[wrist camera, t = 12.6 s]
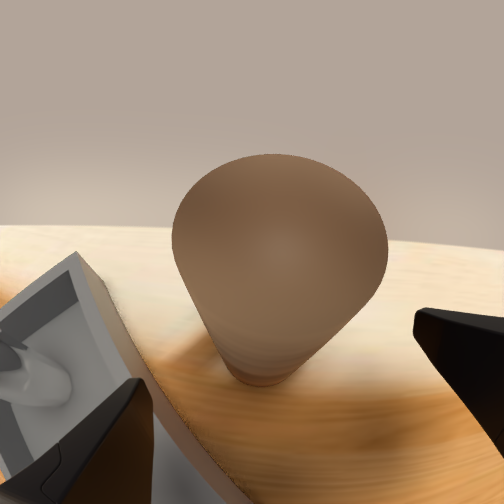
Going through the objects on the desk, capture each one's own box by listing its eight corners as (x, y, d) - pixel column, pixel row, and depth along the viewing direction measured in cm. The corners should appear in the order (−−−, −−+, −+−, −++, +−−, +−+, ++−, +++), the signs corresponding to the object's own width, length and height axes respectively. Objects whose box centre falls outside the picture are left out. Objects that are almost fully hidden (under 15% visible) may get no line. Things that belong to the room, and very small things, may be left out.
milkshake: (30, 350, 15) (-64, 295, 6) (81, 358, 15) (-26, 299, 7) (27, 406, 13) (-76, 373, 4) (79, 421, 13) (-38, 402, 4)
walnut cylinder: (296, 390, 16) (398, 341, 5) (216, 381, 16) (143, 313, 5) (302, 317, 18) (372, 168, 7) (229, 309, 19) (202, 148, 8)
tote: (260, 509, 11) (264, 537, 7) (108, 563, 7) (82, 583, 3) (103, 281, 20) (76, 250, 16) (-3, 357, 15) (-36, 342, 11)
